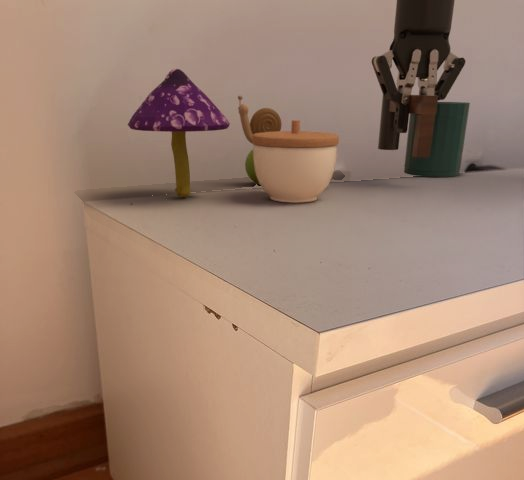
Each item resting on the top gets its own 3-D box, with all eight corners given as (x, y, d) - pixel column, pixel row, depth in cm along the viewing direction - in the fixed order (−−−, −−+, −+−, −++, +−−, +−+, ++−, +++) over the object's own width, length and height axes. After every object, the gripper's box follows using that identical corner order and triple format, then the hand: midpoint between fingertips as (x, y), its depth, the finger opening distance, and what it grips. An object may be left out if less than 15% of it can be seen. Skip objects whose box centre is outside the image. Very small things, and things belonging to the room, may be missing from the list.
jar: (443, 169, 101) (452, 101, 96) (469, 176, 93) (480, 103, 88) (395, 170, 99) (402, 101, 95) (418, 177, 91) (427, 103, 87)
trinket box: (289, 209, 67) (292, 124, 63) (235, 197, 74) (234, 119, 70) (352, 199, 73) (358, 121, 69) (296, 188, 80) (298, 117, 76)
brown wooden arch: (433, 157, 80) (441, 95, 77) (412, 158, 79) (419, 95, 76) (393, 148, 93) (398, 94, 89) (374, 148, 92) (379, 94, 89)
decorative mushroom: (182, 186, 82) (176, 70, 75) (250, 196, 75) (250, 69, 68) (113, 198, 73) (99, 68, 66) (183, 211, 66) (175, 66, 59)
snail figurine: (235, 182, 86) (234, 95, 80) (276, 181, 87) (277, 95, 82) (242, 188, 81) (242, 95, 76) (286, 186, 82) (288, 95, 77)
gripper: (388, -13, 71) (375, 134, 78) (488, -9, 74) (467, 134, 81) (366, -5, 78) (356, 131, 85) (459, -1, 80) (442, 130, 88)
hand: (410, 132), depth 83 cm, fingers closed on brown wooden arch, 2 cm apart
